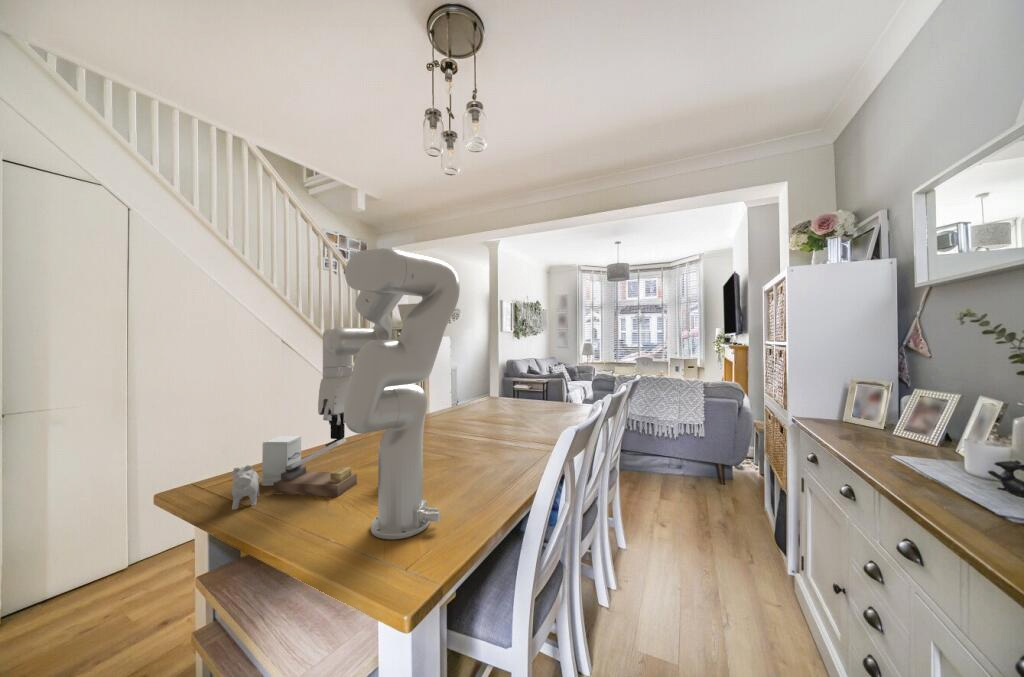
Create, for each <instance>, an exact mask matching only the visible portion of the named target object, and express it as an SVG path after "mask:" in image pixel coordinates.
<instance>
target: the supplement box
mask: <svg viewBox="0 0 1024 677" xmlns="http://www.w3.org/2000/svg"><path fill="white" fill-rule="evenodd" d="M261 458H262V460H261V461H262V465H261V466H262V469H261V470H262V471H261V476H262V477H261V486H264V487H265V486H268V487H270V486H271V487H272V486H273V482H276V481H278V480H280V479H281V473H283V472H285V471H286V470H285V468H286V467H287V466H289V465H291V464H293V463H295V462H298V461H300V460H302V436H301V435H297V436H295V435H286V436H285V435H284V436H277V437H274V438H271V439H269V440H266V441H263V442H262V457H261Z"/></svg>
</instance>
